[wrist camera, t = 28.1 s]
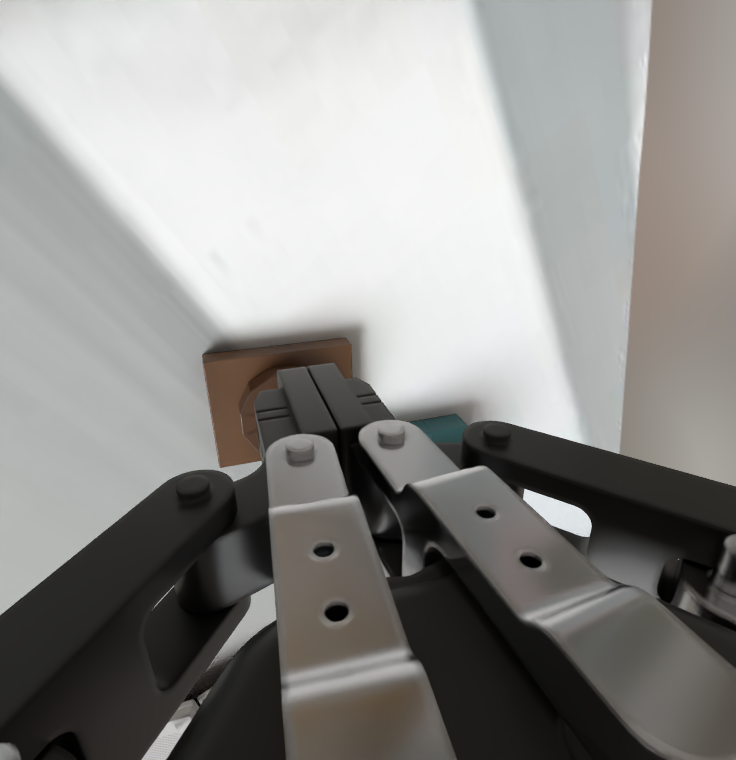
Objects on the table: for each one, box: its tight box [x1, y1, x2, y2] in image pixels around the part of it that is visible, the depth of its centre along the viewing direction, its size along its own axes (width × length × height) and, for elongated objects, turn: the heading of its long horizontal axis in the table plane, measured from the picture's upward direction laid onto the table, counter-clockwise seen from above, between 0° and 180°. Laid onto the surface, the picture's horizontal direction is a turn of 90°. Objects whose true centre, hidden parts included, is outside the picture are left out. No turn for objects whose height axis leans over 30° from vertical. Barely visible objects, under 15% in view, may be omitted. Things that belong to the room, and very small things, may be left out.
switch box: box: [202, 338, 352, 468], centre depth 39 cm, size 11×9×4 cm
